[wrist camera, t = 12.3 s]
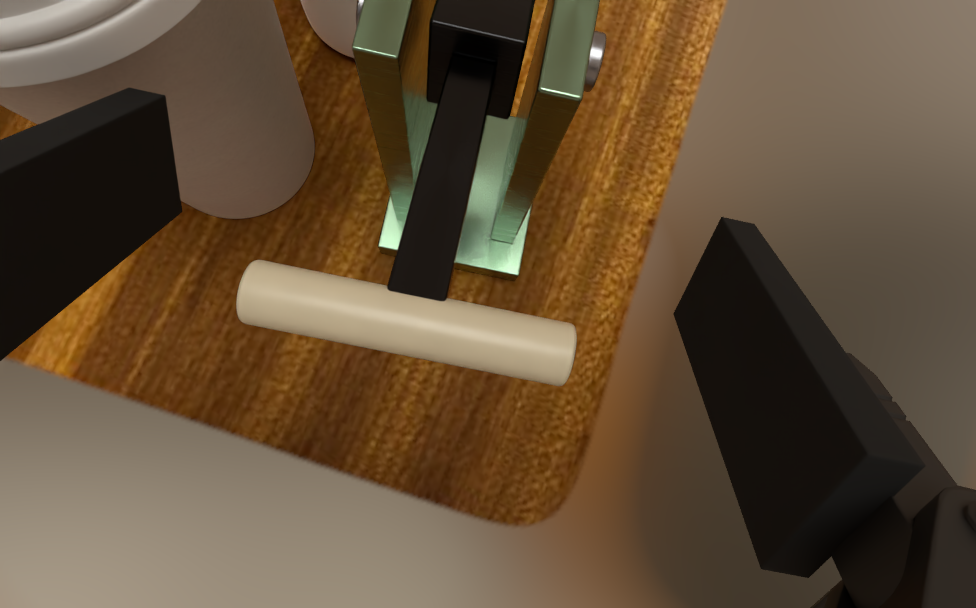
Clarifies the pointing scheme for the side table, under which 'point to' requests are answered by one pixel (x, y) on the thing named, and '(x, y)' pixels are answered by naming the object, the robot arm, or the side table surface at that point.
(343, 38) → the can
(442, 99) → the lever
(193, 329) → the side table surface
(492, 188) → the bracket
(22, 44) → the coffee cup
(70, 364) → the side table surface
